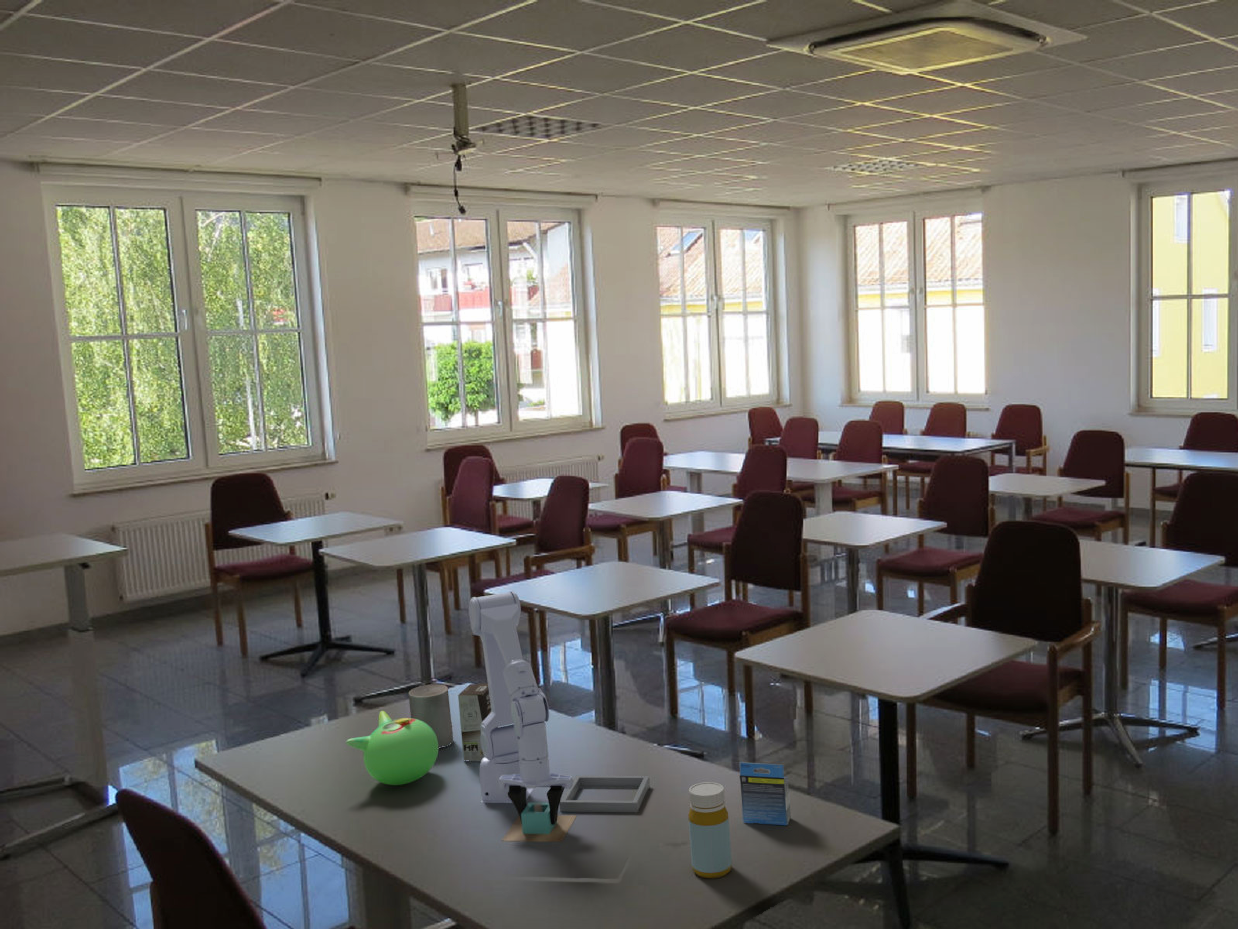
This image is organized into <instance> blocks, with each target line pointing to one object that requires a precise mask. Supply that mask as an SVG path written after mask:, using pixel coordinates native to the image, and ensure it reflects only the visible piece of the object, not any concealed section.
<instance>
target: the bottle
mask: <svg viewBox="0 0 1238 929" xmlns="http://www.w3.org/2000/svg"><path fill="white" fill-rule="evenodd" d="M688 797H689V798H688V799H689V807H690V808H689V811H688V828H689V829H688V830H689V843H690V844H689V845H690V854H691V855H690V857H691V865H692V866H691V867H692V871H693V872H694V873H695V874H696V875H697V876H699V877H701V878H705V879H718V878H722V877H724V876H726V875H727V874H728V873H729V872H730V871H731V869H732V867H733V866H732V862H733V861H732V860H733V859H732V851H731V850H732V848H731V847H732V846H731V834H730V822H729V820H730V818H729V813H728V810H727V808H726V804H725V802H726V800H725V798H726V797H725V787H724V786H723V785H722V784H721V783H719V782H712V781H705V782H698V783H695V784H693V785H691V786H690V787H689V789H688Z"/></svg>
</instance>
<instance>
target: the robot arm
mask: <svg viewBox="0 0 1238 929" xmlns="http://www.w3.org/2000/svg"><path fill="white" fill-rule="evenodd" d="M521 608H522V607H521V602H520V599H519V596H518V594H517V593H516V592H515V591H514V590H512V591H509V592H504V593H503V592H502V593H496V594H490V595H484V596H478V597H476V596H472V597H471V598H470V600H469V603H468V616H469V621H470V629H471V631H472V635H474V636H479V637H480V640H481V643H482V649H483V658H484V664H485V672H486V679H487V683H488V688H489V696H490V703H491V713H490V714H489V715H488V716H487V717H486V718H485V720H484V721H483V722H482V723H481V726H480V729H481V738H480V739H481V747H482V751H483V754H484V756H485V757H484V758H483V759H482V761H480V764H479V781H480V782H479V783H480V793H481V795H480V796H481V801H480V803H485V804H486V803H489V804H490V803H493V804H495V803H498V804H499V803H504V804H505V803H506V804H513V805H514V807H515V809H516V811H517V814H518V816H519V817H520V819H521V813H522V812H523V810H524V809H525V807H526V806H527V805H528V803H527V799H528V798H529V796H530V795H531V793H532V792H533V790H534V789H535V788H549V789H548V791H547V792H546V798H547V803H549V807H550V820H551V825H555V823H556V822H557V815H559V814H558V813H559V809H560V800H561V799H562V797H563V795H564V794H563V793H564V790H565V789H566V790H567V789H571V788H572V786H573V780H574V779H573V776H572V775H568V774H567V775H566V774H565V775H564V774H559V773H554V772H550V762H549V761H550V759H549V750H548V737H547V726H546V725H547V724H546V723H548V721H549V718H550V709H549V702H548V699H547V696H546V695H545V693H544V692H543V691H542V689H541V687H538V684H537V681H536V678H535V674H534V671H533V669H532V666H531V663H530V662H528V661H526V660H524V659H523V654H522V648H521V645H520V640H519V634H518V631H517V627H518V626H519V623H520V617H521V615H522V614H521V613H522V611H521V610H522V609H521ZM545 722H546V723H545ZM496 727H498V728H496ZM521 823H522V819H521Z"/></svg>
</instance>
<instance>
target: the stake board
mask: <svg viewBox="0 0 1238 929" xmlns="http://www.w3.org/2000/svg"><path fill="white" fill-rule="evenodd" d="M534 812H543V810H542V804H535V805H534ZM577 817H578V816H577V815H570V814H569V815H564V814H563V815H562V814H560V815H559V814H558V815H557V823H556V824H555V826H554V827H553V829H552V831H551V832H550V834H523V830H522V823H521V819H520V817H519V815H518V816H517V818H516V819H515V821H514V822H513V823H512V825H511V826H510V828H509V829H508V831H507V832H506V833H505V835H504V837H503V838H502V839H501V842H535V843H536V842H540V843H541V842H543V843H545V842H546V843H549V842H550V843H562V842H563V840H564V839H565V837H566V835H567V834H568V831H569V830H570V828H571V826H572V825H573V823H574V821H575V820H576V818H577Z"/></svg>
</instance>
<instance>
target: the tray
mask: <svg viewBox="0 0 1238 929" xmlns="http://www.w3.org/2000/svg"><path fill="white" fill-rule="evenodd" d="M580 789H631V790H632V789H637V791H636V793H635V794H634V797H633V800H593V799H592V800H589V799H588V800H587V799H586V800H585V799H584V800H583V799H582V800H581V799H578V800H577V799H576V800H575V799H574V798H575V796H576V795H577V793H578V790H580ZM650 789H651V782H650V775H576V776H575V777H574V779H573V786H572V788H571V789H566V791H565V793H564V794H563V795H562V797H561V800H560V804H559V812H575V813H577V812H578V813H579V812H587V813H588V812H590V813H591V812H593V813H596V812H597V813H638V812H639V809H640V808H641V805H642V803H643V800H644V799H645V796H646V794H647V793H648V791H649V790H650Z"/></svg>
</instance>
